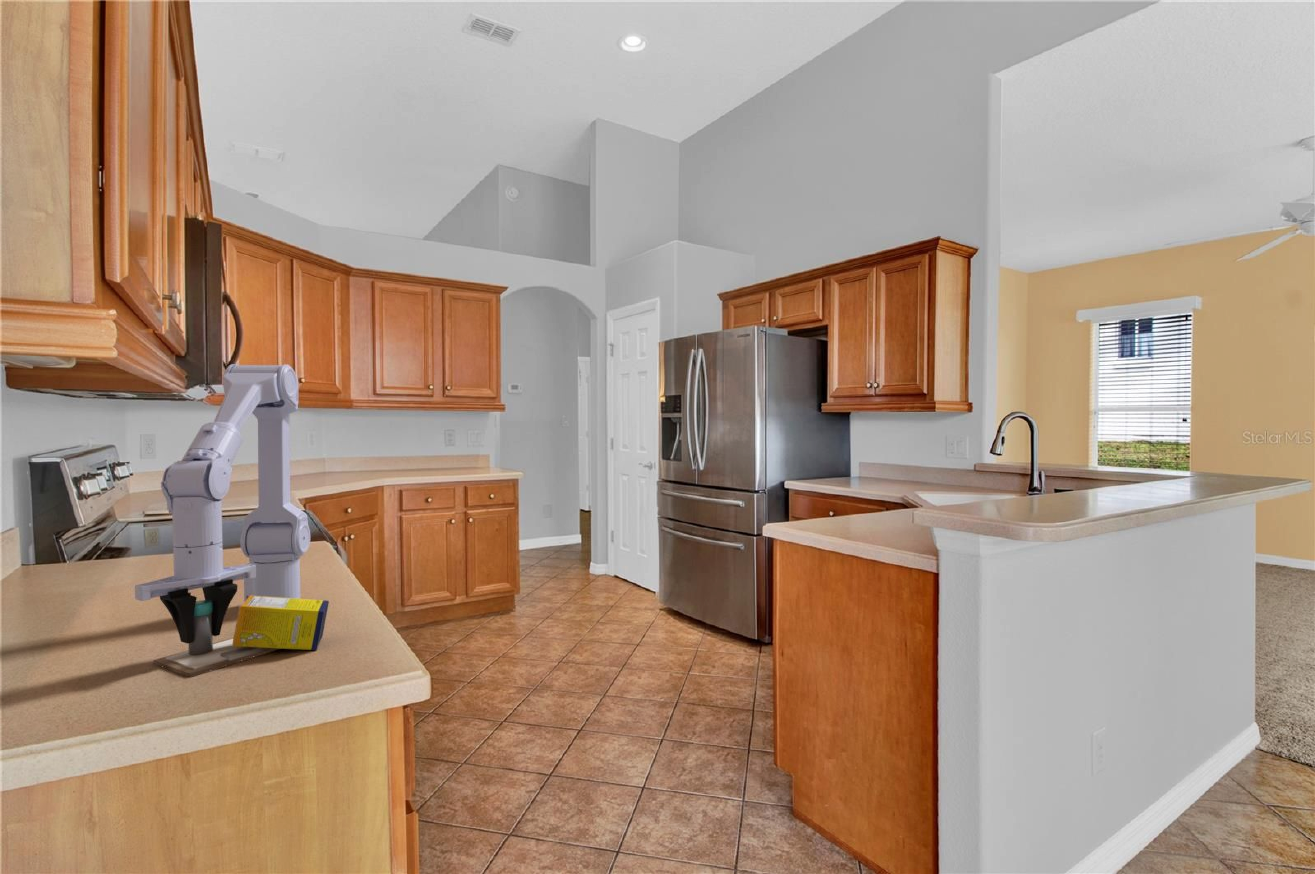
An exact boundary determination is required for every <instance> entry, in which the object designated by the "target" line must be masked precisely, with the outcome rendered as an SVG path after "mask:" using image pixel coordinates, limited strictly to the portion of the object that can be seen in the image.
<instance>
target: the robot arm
mask: <svg viewBox="0 0 1315 874" xmlns="http://www.w3.org/2000/svg"><path fill="white" fill-rule="evenodd" d="M222 386H223V391H224V398H223V399H222V402H221V403H220V404H221V405H220V407H219V409H218V410H217V413H216V416H215V418H214V420H213V421H210V422H208V423H204V424H203V425H202V426H201V427H200V428H199V430H198V432H197V434H196V435H195V437H194V439H193V440H192V442H191V444H190V445H189V446H188V449H187V451H186V452H185V454H184V455H183V457H182V459H181V460H177V461H174V462H173V463H172V464H169V465H168V466H167V467H166V468H165V470H164V471H163V475H162V480H161V482H160V487H161V491H162V494H163V496H164V498H165V500H166V508H167V509H166V510H167V511H168V513H169V514H171V515H172V517H171V519H172V546H173V553H172V554H173V575H171V576H168V577H165V578H160V579H157V580H152V581H149V582H145V583H139V584H134V599H135V600H136V601H141V602H144V601H149V600H151V599H153V598H158V597H159V599H160V601H161V603H163V605H164V606H165V608H166V609H167V611H168V613H169V614H170V616H171V617H172V619H173V622H174V623H175V627H176V629H177V632H178V635H179V640H180V642H181V643H184V644H186V645H187V644H188V645H189V643H192V642H193V641H194V623H193V618H194V609H195V603H196V601H197V598H198V597H197V596H195V595H192V594H191V593H192V592H189V591H192V590H196V589H202V592H203V597H204V600H212V601H213V612H212V633H213V637H217V636H218V637H219V636H220V635H221V630H222V627H223V623H224V619H225V616H226V614H227V611H228V608H229V606H230V605H231V602H232V600H233V599H234V597H235V595H236V594H237V592H238V584H236V583H234V582H235V581H240V580H243V601H244V602H245V601H246V600H247V599H248V597H249V596H250V595H253V596H267V597H281V598H296V599H301V574H300V573H301V567H300V566H301V564H300V563H301V562H300V559H301V557H302V556H304V555H305V553H306V552H307V551H308V550H309V548H310V545H311V544H310V543H311V530H310V526H309V522H308V514H307V513H306V512H304V511H303V510H302V509H300V508H298V507H296V506H295V505H294V504H292V503H291V455H290V454H291V447H290V446H291V444H290V443H291V442H290V441H291V439H290V436H291V435H290V434H291V433H290V431H291V430H290V428H291V427H290V425H291V424H290V423H291V414H292V413H294V412H297V411H298V409H299V379H298V376H297V373H296V372H295V370H294V369H293V367H292V366H290V364H287V363H285V364H280V365H277V364H273V365H272V364H270V365H267V364H266V365H265V364H261V365H260V364H253V365H252V364H237V363H235V364H234V363H232V364H231V363H230V365H228V366H227V367H226V369H225V371H224V373H223V375H222ZM251 415H254V416H255V418H256V419H257V460H258V461H257V467H258V468H257V470H258V471H257V473H258V476H257V477H258V480H257V481H258V484H257V485H258V486H257V487H258V495H257V496H258V506H257V507H256V508H255V509H253V510H252V511H251V512H249V513H248V514H247V515H246V516H244V518H243V527H242V531H241V535H240V544H239V545H240V549H241V552H242V553H243V555H244V556H245V557H246V558H248V561H249V562H248V563H247V564H246V563H245V564H240V565H232V566H226V567H224V552H223V551H224V549H223V512H222V511H223V509H222V508H223V507H222V506H223V504H222V503H223V501H222V499H223V498H225V497H226V495H227V494H228V492H229V490H230V487H231V476H232V473H233V468H232V466H231V465H232V463H233V461H234V460H235V457H236V455H237V454H238V451H239V450H240V448H241V446H242V444H243V439H244V438H243V436H242V434H241V432H240V431H241V429H242V428H243V426H244V425H245V424H246V422H247V420H248V419H249V418H250V416H251ZM244 602H243V603H244ZM241 605H242V604H241ZM241 605H240V604H239V606H238V608H239V607H240V606H241Z"/></svg>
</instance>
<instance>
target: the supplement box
mask: <svg viewBox="0 0 1315 874" xmlns="http://www.w3.org/2000/svg"><path fill="white" fill-rule="evenodd" d="M329 603H330V602H329V600H327V599H326V600H325V599H324V600H323V599H311V598H309V599H307V598H300V599H296V598H281V597H267V596H253V595H250V596H249V597H248V599H247V600H246V601H245V602H243V604H241V606H240V605H239V606H240V607H239V606H238V612H237V616H236V618H237V619H236V623H235V629H234V634H233V637H232V638H233V644H232V646H233V647H258V648H280V649H279V650H281V649H283V650H284V649H285V650H309V651H311V650H313V651H317V650H318V649H319V645H320V643H321V640H322V638H323V636H324V631H325V630H324V629H325V625H326V620H327V619H326V618H327V614H328V613H327V612H328V609H329Z"/></svg>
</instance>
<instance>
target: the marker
mask: <svg viewBox="0 0 1315 874" xmlns="http://www.w3.org/2000/svg"><path fill="white" fill-rule="evenodd" d="M212 612H213V601H212V600H205V599H204V600H202V599H201V600H196V603H195V609H194V618H193V623H194V641H193V642H192V643H188V650H189V654H190V655H200V654H205V653H208V652H210V651H212V650H213V643H214V639H213V638H214V636H213V633H212Z"/></svg>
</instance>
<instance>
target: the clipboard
mask: <svg viewBox="0 0 1315 874" xmlns="http://www.w3.org/2000/svg"><path fill="white" fill-rule="evenodd" d="M233 638H234V637H230V638H227V639H224V640H220V641H217V642H213V650H212V651H210V652H208V653H205V654H200V655H190V654H189V649H188V650H185V651H181V652H177V653H173V654H171V655H167V656H166V655H165V656H164V657H160V658H156V659H153V660H152V661H153V662H152V663H153V665H156V666H158V665H160V666H159V667H161V666H163V667H162V668H164V669H166V670H169V671H171V672H174V671H175V673H178V674H180V675H182V674H183V676H185V677H187V678H192V677H195V676H199V675H202V674H205V673H208V672H211V671H210V670H212V671H215V670H218V669H221V668H223V667H222V666H224V667H226V666H225V665H228V666H231V665H234V664H236V662H237V663H240V662H242V661H241V660H244V661H246V659H247V660H250V659H252V658H251V657H253V656H256V657H259V655H260V656H262V655H261V654H263V655H265V654H264V653H266V654H268V653H267V652H269V653H271V652H270V651H272V652H276V651H278V650H277V649H279V650H281V649H280V648H258V647H233V646H232V644H233ZM275 650H276V651H275ZM249 658H250V659H249ZM253 658H254V657H253ZM239 661H240V662H239ZM233 663H234V664H233ZM220 667H221V668H220ZM217 668H218V669H217ZM214 669H215V670H214Z"/></svg>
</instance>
